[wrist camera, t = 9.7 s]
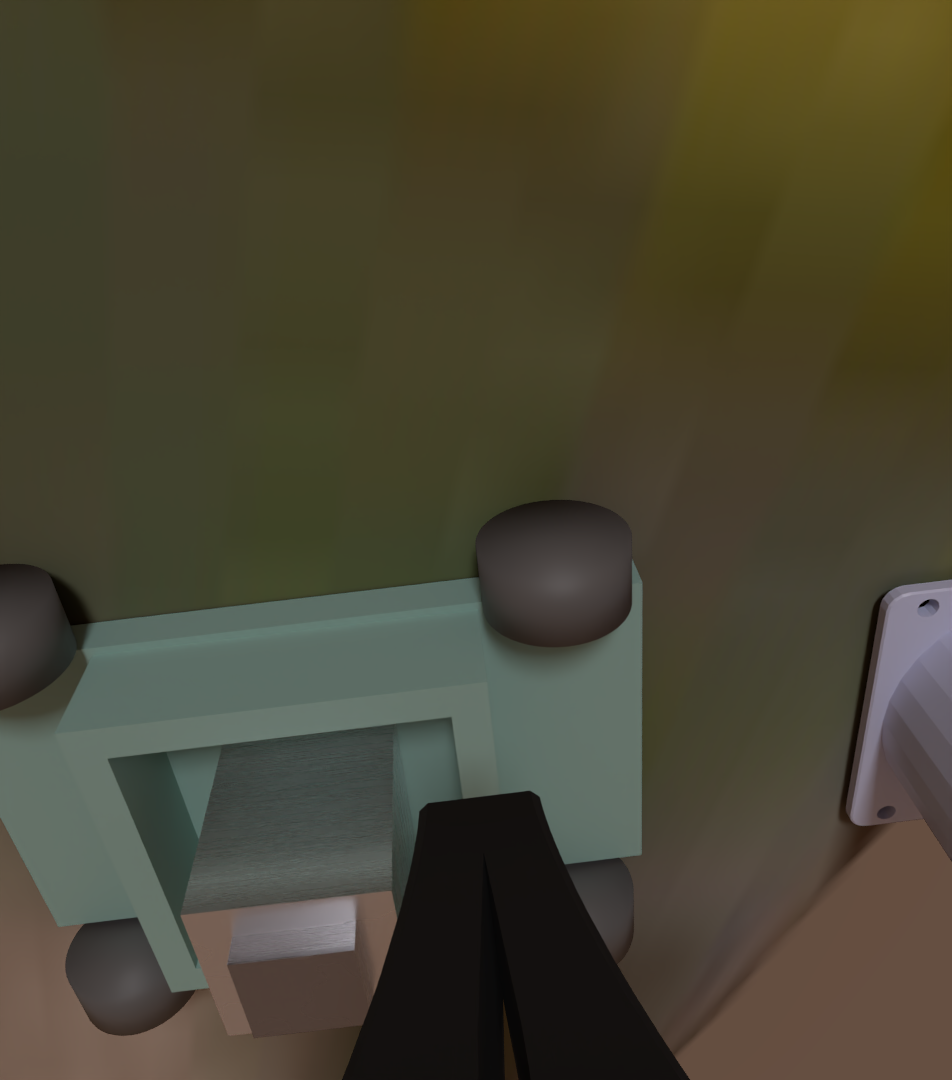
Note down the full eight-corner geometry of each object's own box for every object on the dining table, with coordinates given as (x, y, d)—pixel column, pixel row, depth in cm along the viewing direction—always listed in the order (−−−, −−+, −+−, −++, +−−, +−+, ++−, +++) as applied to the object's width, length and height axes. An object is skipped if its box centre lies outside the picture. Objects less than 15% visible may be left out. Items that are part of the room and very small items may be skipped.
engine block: (393, 712, 21) (391, 917, 16) (413, 828, 23) (416, 1041, 18) (225, 731, 21) (173, 943, 16) (260, 846, 23) (223, 1064, 18)
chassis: (631, 490, 20) (673, 576, 17) (633, 868, 26) (663, 979, 23) (-92, 575, 19) (-182, 677, 16) (90, 935, 26) (49, 1056, 23)
